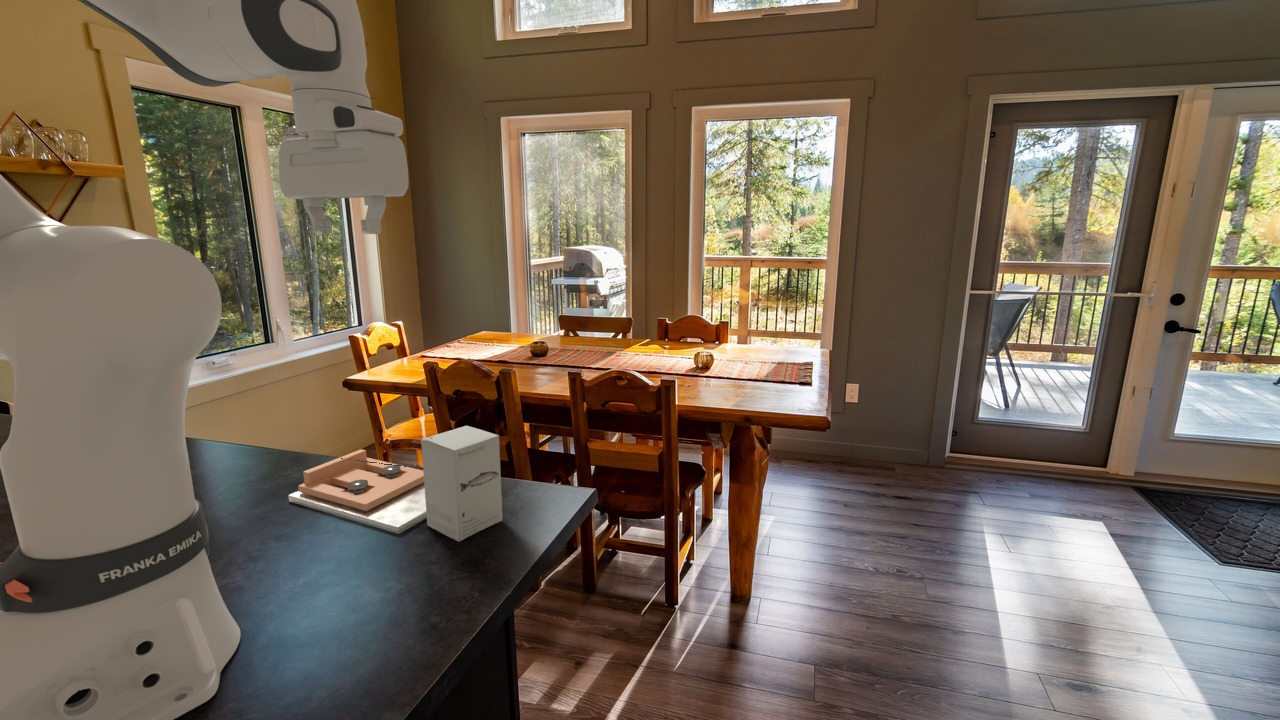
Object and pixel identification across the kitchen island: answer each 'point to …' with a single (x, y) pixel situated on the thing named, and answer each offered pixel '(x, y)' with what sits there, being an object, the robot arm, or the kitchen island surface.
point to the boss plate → (384, 516)
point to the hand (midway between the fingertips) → (346, 233)
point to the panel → (352, 470)
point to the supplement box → (462, 481)
